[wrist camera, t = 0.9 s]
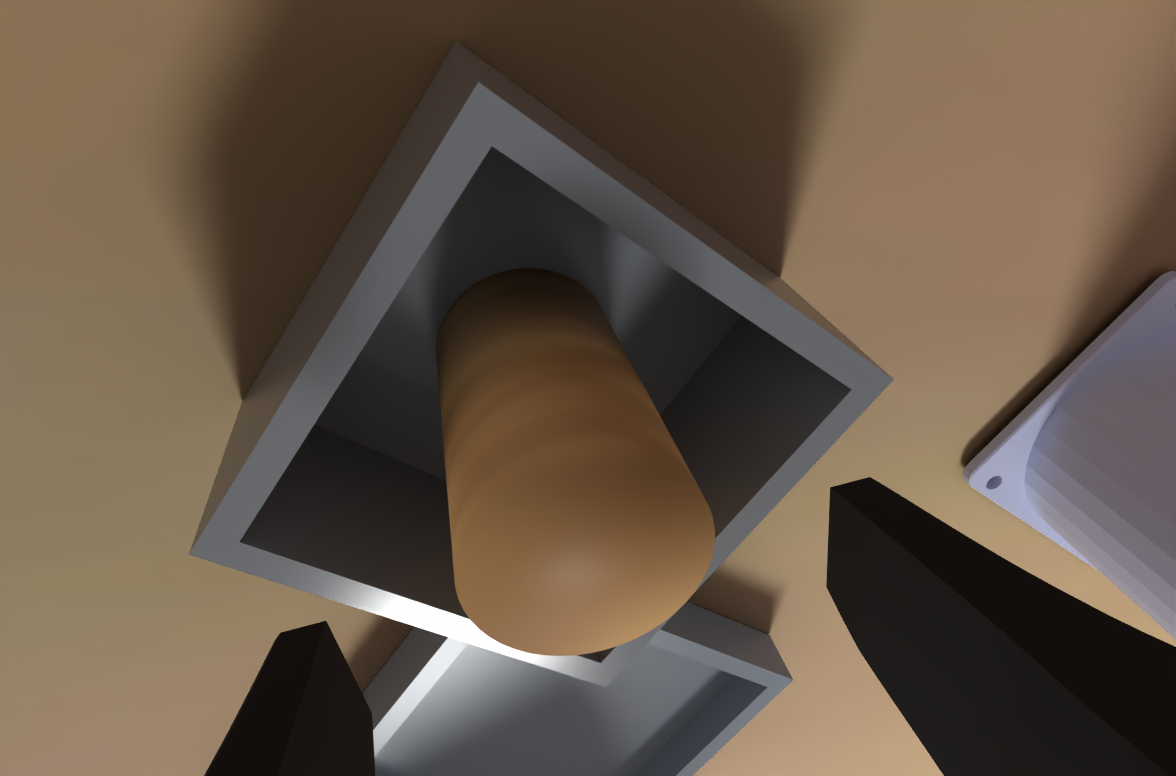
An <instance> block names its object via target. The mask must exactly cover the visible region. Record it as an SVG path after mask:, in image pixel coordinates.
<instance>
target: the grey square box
mask: <svg viewBox="0 0 1176 776" xmlns="http://www.w3.org/2000/svg"><path fill="white" fill-rule="evenodd" d="M518 268H538V269H546V270H550V271H555V272H557V273H560V274H563V275H566V276H567V277H569V278H571V279H573V280H575V281H577V282H578V283H579V284H581V285H582V286H584V287H585V288H586V289H587V290H588V291H589V292H590V293H591V294H592V295H593V296H594V298H595V299H596V300H597V301H598V303H599V305H600V306H601V308H602V310H603V312H604V314H605V315H606V317H607V319H608V321H609V323H610V325H611V326H612V328H613V330H614V332H615V334H616V336H617V337H618V339H619V341H620V343H621V345H622V347H623V349H624V350H625V352H626V354H627V356H628V358H629V360H630V361H631V363H632V365H633V367H634V369H635V371H636V373H637V374H638V376H639V378H640V380H641V382H642V384H643V385H644V387H645V389H646V391H647V393H648V395H649V397H650V398H651V400H652V402H653V404H654V406H655V408H656V409H657V411H658V413H659V415H660V417H661V419H662V421H663V422H664V424H665V426H666V428H667V430H668V432H669V433H670V435H671V437H672V439H673V441H674V443H675V444H676V446H677V448H678V450H679V452H680V454H681V456H682V457H683V459H684V461H685V463H686V465H687V467H688V468H689V470H690V472H691V474H692V476H693V478H694V480H695V481H696V483H697V485H698V487H699V489H700V491H701V492H702V494H703V496H704V498H705V500H706V502H707V504H708V505H709V508H710V511H711V514H712V516H713V521H714V527H715V545H714V551H713V556H712V559H711V562H710V565H709V568H708V570H707V572H706V574H705V576H704V578H703V580H702V582H701V583H700V585H699V586H698V588H699V587H700V586H701V585H702V584H703V583H704V582H705V581H706V580H707V579H708V578H709V576H710V575H711V574H712V573H713V572H714V571H715V570H716V569H717V568H718V567H719V566H720V565H721V564H722V563H723V561H724V560H725V559H726V558H727V557H728V556H729V555H730V554H731V553H732V552H733V551H734V550H735V549H736V548H737V547H738V545H739V544H740V543H741V542H742V541H743V540H744V539H745V538H746V537H747V536H748V535H749V534H750V533H751V532H752V530H753V529H754V528H755V527H756V526H757V525H758V524H759V523H760V522H761V521H762V520H763V519H764V518H765V517H766V515H767V514H768V513H769V512H770V511H771V510H772V509H773V508H774V507H775V506H776V505H777V504H778V503H779V502H780V501H781V499H782V498H783V497H784V496H785V495H786V494H787V493H788V492H789V491H790V490H791V489H792V488H793V487H794V486H795V484H796V483H797V482H798V481H799V480H800V479H801V478H802V477H803V476H804V475H805V474H806V473H807V472H808V471H809V469H810V468H811V467H812V466H813V465H814V464H815V463H816V462H817V461H818V460H819V459H820V458H821V457H822V456H823V455H824V453H825V452H826V451H827V450H828V449H829V448H830V447H831V446H832V445H833V444H834V443H835V442H836V441H837V440H838V438H839V437H840V436H841V435H842V434H843V433H844V432H845V431H846V430H847V429H848V428H849V427H850V426H851V425H852V423H853V422H854V421H855V420H856V419H857V418H858V417H859V416H860V415H861V414H862V413H863V412H864V411H865V410H866V409H867V407H868V406H869V405H870V404H871V403H872V402H873V401H874V400H875V399H876V398H877V397H878V396H879V395H880V394H881V392H882V391H883V390H884V389H885V388H886V387H887V386H888V385H889V384H890V383H891V382H892V381H893V380H894V379H893V378H892V377H891V376H890V375H888V374H887V373H886V372H885V371H884V370H883V369H882V368H881V367H879V366H878V365H877V364H876V363H875V362H874V361H873V360H872V359H871V358H869V357H868V356H867V355H866V354H865V353H864V352H863V351H862V350H860V349H859V348H858V347H857V346H856V345H855V344H854V343H853V342H851V341H850V340H849V339H848V338H847V337H846V336H845V335H844V334H843V333H841V332H840V331H839V330H838V329H837V328H836V327H835V326H834V325H832V324H831V323H830V322H829V321H828V320H827V319H826V318H825V317H823V316H822V315H821V314H820V313H819V312H818V311H817V310H816V309H815V308H813V307H812V306H811V305H810V304H809V303H808V302H807V301H806V300H804V299H803V298H802V297H801V296H800V295H799V294H798V293H797V292H795V291H794V290H793V289H792V288H791V287H790V286H789V285H788V284H786V283H785V282H784V281H783V280H782V279H781V278H779V277H778V276H777V275H775V274H774V273H773V272H771V271H770V270H769V269H767V268H766V267H764V266H763V265H762V264H760V263H759V262H758V261H756V260H755V259H754V258H752V257H751V256H749V255H748V254H747V253H745V252H744V251H743V250H741V249H740V248H739V247H737V246H736V245H734V244H733V243H732V242H730V241H729V240H728V239H726V238H725V237H724V236H722V235H721V234H719V233H718V232H717V231H715V230H714V229H713V228H711V227H710V226H709V225H707V224H706V223H704V222H703V221H702V220H700V219H699V218H698V217H696V216H695V215H694V214H692V213H691V212H689V211H688V210H687V209H685V208H684V207H683V206H681V205H680V204H679V203H677V202H676V201H674V200H673V199H672V198H670V197H669V196H668V195H666V194H665V193H664V192H662V191H661V190H659V189H658V188H657V187H655V186H654V185H653V184H651V183H650V182H649V181H647V180H646V179H644V178H643V177H642V176H640V175H639V174H638V173H636V172H635V171H634V170H632V169H631V168H629V167H628V166H627V165H625V164H624V163H623V162H621V161H620V160H619V159H617V158H616V157H614V156H613V155H612V154H610V153H609V152H608V151H606V150H605V149H604V148H602V147H601V146H599V145H598V144H597V143H595V142H594V141H593V140H591V139H590V138H589V137H587V136H586V135H584V134H583V133H582V132H580V131H579V130H578V129H576V128H575V127H574V126H572V125H571V124H569V123H568V122H567V121H565V120H564V119H563V118H561V117H560V116H558V115H557V114H556V113H554V112H553V111H552V110H550V109H549V108H548V107H546V106H545V105H543V104H542V103H541V102H539V101H538V100H537V99H535V98H534V97H533V96H531V95H530V94H528V93H527V92H526V91H524V90H523V89H522V88H520V87H519V86H518V85H516V84H515V83H513V82H512V81H511V80H509V79H508V78H507V77H505V76H504V75H503V74H501V73H500V72H498V71H497V70H496V69H494V68H493V67H492V66H490V65H489V64H488V63H486V62H485V61H483V60H482V59H481V58H479V57H478V56H477V55H475V54H474V53H473V52H471V51H470V50H468V49H467V48H466V47H464V46H463V45H462V44H460V43H459V42H458V41H455V43H454V44H453V46H452V48H451V50H450V51H449V53H448V55H447V56H446V58H445V60H444V61H443V63H442V65H441V66H440V68H439V70H438V72H437V73H436V75H435V77H434V78H433V80H432V82H431V83H430V85H429V87H428V88H427V90H426V92H425V94H424V95H423V97H422V99H421V100H420V102H419V104H418V105H417V107H416V109H415V111H414V112H413V114H412V116H411V117H410V119H409V121H408V122H407V124H406V126H405V127H404V129H403V131H402V133H401V134H400V136H399V138H398V139H397V141H396V143H395V144H394V146H393V148H392V149H391V151H390V153H389V155H388V156H387V158H386V160H385V161H384V163H383V165H382V166H381V168H380V170H379V171H378V173H377V175H376V177H375V178H374V180H373V182H372V183H371V185H370V187H369V188H368V190H367V192H366V193H365V195H364V197H363V199H362V200H361V202H360V204H359V205H358V207H357V209H356V210H355V212H354V214H353V215H352V217H351V219H350V221H349V222H348V224H347V226H346V227H345V229H344V231H343V232H342V234H341V236H340V237H339V239H338V241H337V243H336V244H335V246H334V248H333V249H332V251H331V253H330V254H329V256H328V258H327V259H326V261H325V263H324V265H323V266H322V268H321V270H320V271H319V273H318V275H317V276H316V278H315V280H314V282H313V283H312V285H311V287H310V288H309V290H308V292H307V293H306V295H305V297H304V298H303V300H302V302H301V304H300V305H299V307H298V309H297V310H296V312H295V314H294V315H293V317H292V319H291V320H290V322H289V324H288V326H287V327H286V329H285V331H284V332H283V334H282V336H281V337H280V339H279V341H278V342H277V344H276V346H275V348H274V349H273V351H272V353H271V354H270V356H269V358H268V359H267V361H266V363H265V364H264V366H263V368H262V370H261V371H260V373H259V375H258V376H257V378H256V380H255V381H254V383H253V385H252V386H251V388H250V390H249V392H248V393H247V395H246V397H245V398H244V400H243V402H242V404H241V407H240V409H239V412H238V415H237V418H236V421H235V424H234V427H233V430H232V432H231V435H230V438H229V441H228V444H227V447H226V450H225V452H224V455H223V458H222V461H221V464H220V467H219V470H218V473H217V475H216V478H215V481H214V484H213V487H212V490H211V493H210V496H209V498H208V501H207V504H206V507H205V510H204V513H203V516H202V518H201V521H200V524H199V527H198V530H197V533H196V536H195V539H194V541H193V544H192V547H191V550H190V553H189V555H192V556H195V557H198V558H201V559H204V560H207V561H211V562H214V563H217V564H220V565H223V566H226V567H229V568H233V569H236V570H239V571H242V572H245V573H248V574H252V575H255V576H258V577H261V578H264V579H267V580H270V581H274V582H277V583H280V584H283V585H286V586H289V587H292V588H296V589H299V590H302V591H305V592H308V593H311V594H314V595H318V596H321V597H324V598H327V599H330V600H333V601H336V602H340V603H343V604H346V605H349V606H352V607H355V608H358V609H362V610H365V611H368V612H371V613H374V614H377V615H380V616H384V617H387V618H390V619H393V620H396V621H399V622H402V623H406V624H409V625H412V626H415V627H418V628H421V629H424V630H428V631H431V632H434V633H437V634H440V635H443V636H446V637H450V638H453V639H456V640H459V641H462V642H465V643H469V644H472V645H475V646H478V647H481V648H484V649H487V650H491V651H494V652H497V653H500V654H503V655H506V656H509V657H513V658H516V659H519V660H522V661H525V662H528V663H531V664H535V665H538V666H541V667H544V668H547V669H550V670H553V671H557V672H560V673H563V674H566V675H569V676H572V677H575V678H579V679H582V680H585V681H588V682H591V683H594V684H597V685H601V686H604V687H607V686H608V685H609V683H610V682H611V681H612V680H613V679H614V678H615V677H616V676H617V675H618V674H619V673H620V672H621V671H622V670H623V668H624V667H625V666H626V665H627V664H628V663H629V662H630V661H631V660H632V659H633V658H634V657H635V656H636V655H637V653H638V652H639V651H640V650H641V649H642V648H643V647H644V646H645V645H646V644H647V643H648V642H649V641H650V640H651V639H652V637H653V636H654V635H655V634H656V633H657V632H658V631H659V630H660V629H661V628H662V627H663V626H664V625H665V624H666V622H667V621H668V620H669V619H670V618H671V617H672V616H673V615H674V614H675V613H674V614H673V615H672V616H671V617H669V618H668V619H667V620H666V621H664V622H663V623H662V624H660V625H659V626H657V627H655V628H654V629H652V630H651V631H649V632H647V633H645V634H643V635H642V636H640V637H638V638H636V639H634V640H631V641H629V642H626V643H624V644H622V645H619V646H616V647H612V648H609V649H606V650H602V651H598V652H593V653H588V654H581V655H571V656H548V655H539V654H532V653H527V652H523V651H519V650H516V649H513V648H510V647H508V646H505V645H503V644H501V643H499V642H497V641H495V640H494V639H492V638H490V637H489V636H487V635H486V634H485V633H483V632H482V631H481V630H479V629H478V627H477V626H476V625H475V624H474V623H473V622H472V621H471V620H470V619H469V617H468V616H467V614H466V613H465V612H464V610H463V608H462V606H461V604H460V601H459V599H458V596H457V592H456V588H455V580H454V568H453V555H452V543H451V531H450V518H449V506H448V494H447V481H446V469H445V457H444V445H443V432H442V420H441V408H440V395H439V383H438V371H437V358H436V345H437V337H438V333H439V329H440V326H441V324H442V321H443V319H444V317H445V315H446V314H447V312H448V310H449V309H450V307H451V306H452V305H453V303H454V302H455V301H456V300H457V299H458V298H459V297H460V296H461V295H462V294H463V293H464V292H465V291H466V290H467V289H469V288H470V287H471V286H473V285H474V284H476V283H477V282H479V281H481V280H482V279H484V278H486V277H489V276H491V275H493V274H496V273H499V272H503V271H506V270H512V269H518ZM698 588H697V589H698ZM697 589H696V590H697ZM694 593H695V592H694ZM694 593H693V594H694Z"/></svg>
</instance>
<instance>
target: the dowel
mask: <svg viewBox="0 0 1176 776" xmlns="http://www.w3.org/2000/svg"><path fill="white" fill-rule="evenodd" d="M436 358H437V371H438V383H439V395H440V408H441V420H442V432H443V445H444V457H445V469H446V481H447V494H448V506H449V518H450V531H451V543H452V555H453V568H454V580H455V588H456V592H457V596H458V599H459V601H460V604H461V606H462V608H463V610H464V612H465V613H466V614H467V616H468V617H469V619H470V620H471V621H472V622H473V623H474V624H475V625H476V626H477V627H478V629H479V630H481V631H482V632H483V633H485V634H486V635H487V636H489V637H490V638H492V639H494V640H495V641H497V642H499V643H501V644H503V645H505V646H508V647H510V648H513V649H516V650H519V651H523V652H527V653H532V654H539V655H548V656H571V655H581V654H588V653H593V652H598V651H602V650H606V649H609V648H612V647H616V646H619V645H622V644H624V643H626V642H629V641H631V640H634V639H636V638H638V637H640V636H642V635H643V634H645V633H647V632H649V631H651V630H652V629H654V628H655V627H657V626H659V625H660V624H662V623H663V622H664V621H666V620H667V619H668V618H669V617H671V616H672V615H673V614H674V613H676V612H677V611H678V610H679V609H680V608H681V607H682V606H683V605H684V604H685V603H686V602H687V601H688V599H689V598H690V597H691V596H692V595H693V593H694V592H695V591H696V589H697V588H698V586H699V585H700V583H701V582H702V580H703V578H704V576H705V574H706V572H707V570H708V568H709V565H710V562H711V559H712V556H713V551H714V545H715V527H714V521H713V516H712V514H711V511H710V508H709V505H708V504H707V502H706V500H705V498H704V496H703V494H702V492H701V491H700V489H699V487H698V485H697V483H696V481H695V480H694V478H693V476H692V474H691V472H690V470H689V468H688V467H687V465H686V463H685V461H684V459H683V457H682V456H681V454H680V452H679V450H678V448H677V446H676V444H675V443H674V441H673V439H672V437H671V435H670V433H669V432H668V430H667V428H666V426H665V424H664V422H663V421H662V419H661V417H660V415H659V413H658V411H657V409H656V408H655V406H654V404H653V402H652V400H651V398H650V397H649V395H648V393H647V391H646V389H645V387H644V385H643V384H642V382H641V380H640V378H639V376H638V374H637V373H636V371H635V369H634V367H633V365H632V363H631V361H630V360H629V358H628V356H627V354H626V352H625V350H624V349H623V347H622V345H621V343H620V341H619V339H618V337H617V336H616V334H615V332H614V330H613V328H612V326H611V325H610V323H609V321H608V319H607V317H606V315H605V314H604V312H603V310H602V308H601V306H600V305H599V303H598V301H597V300H596V299H595V298H594V296H593V295H592V294H591V293H590V292H589V291H588V290H587V289H586V288H585V287H584V286H582V285H581V284H579V283H578V282H577V281H575V280H573V279H571V278H569V277H567V276H566V275H563V274H560V273H557V272H555V271H550V270H546V269H538V268H518V269H512V270H506V271H503V272H499V273H496V274H493V275H491V276H489V277H486V278H484V279H482V280H481V281H479V282H477V283H476V284H474V285H473V286H471V287H470V288H469V289H467V290H466V291H465V292H464V293H463V294H462V295H461V296H460V297H459V298H458V299H457V300H456V301H455V302H454V303H453V305H452V306H451V307H450V309H449V310H448V312H447V314H446V315H445V317H444V319H443V321H442V324H441V326H440V329H439V333H438V337H437V345H436Z"/></svg>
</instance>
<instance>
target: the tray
mask: <svg viewBox="0 0 1176 776" xmlns="http://www.w3.org/2000/svg"><path fill="white" fill-rule="evenodd" d="M792 680H793V679H792V677H791V675H790V673H789V671H788V669H787V667H786V665H785V664H784V662H783V660H782V658H781V656H780V654H779V652H778V650H777V648H776V646H775V645H774V643H773V641H772V639H771V637H770V635H767V634H765V633H762V632H760V631H757V630H755V629H752V628H750V627H748V626H745V625H743V624H740V623H738V622H735V621H733V620H730V619H728V618H726V617H723V616H721V615H718V614H716V613H713V612H711V611H709V610H706V609H704V608H701V607H699V606H696V605H694V604H691V603H689V602H686V603H685V604H684V605H683V606H682V607H681V608H680V609H679V610H678V611H677V612H676V613H675V614H674V615H673V616H672V617H671V618H670V619H669V620H668V621H667V622H666V624H665V625H664V626H663V627H662V628H661V629H660V630H659V631H658V632H657V633H656V634H655V635H654V636H653V637H652V639H651V640H650V641H649V642H648V643H647V644H646V645H645V646H644V647H643V648H642V649H641V650H640V651H639V652H638V653H637V655H636V656H635V657H634V658H633V659H632V660H631V661H630V662H629V663H628V664H627V665H626V666H625V667H624V668H623V670H622V671H621V672H620V673H619V674H618V675H617V676H616V677H615V678H614V679H613V680H612V681H611V682H610V683H609V685H608V686H607V687H604V686H601V685H597V684H594V683H591V682H588V681H585V680H582V679H579V678H575V677H572V676H569V675H566V674H563V673H560V672H557V671H553V670H550V669H547V668H544V667H541V666H538V665H535V664H531V663H528V662H525V661H522V660H519V659H516V658H513V657H509V656H506V655H503V654H500V653H497V652H494V651H491V650H487V649H484V648H481V647H478V646H475V645H472V644H469V643H465V642H462V641H459V640H456V639H453V638H450V637H446V636H443V635H440V634H437V633H434V632H431V631H428V630H424V629H421V628H418V627H414V628H413V629H412V630H411V632H410V633H409V634H408V636H407V637H406V638H405V639H404V641H403V642H402V643H401V645H400V646H399V647H398V648H397V650H396V651H395V652H394V653H393V655H392V656H391V657H390V659H389V660H388V661H387V662H386V664H385V665H384V666H383V668H382V669H381V670H380V671H379V673H378V674H377V675H376V677H375V678H374V679H373V680H372V682H371V683H370V684H369V686H368V687H367V688H366V689H365V691H364V692H363V693H362V694H363V696H364V698H365V700H366V702H367V704H368V706H369V708H370V710H371V712H372V721H373V738H374V757H375V776H693V775H694V774H695V773H696V772H697V771H698V770H699V769H700V768H701V767H702V766H703V765H704V764H705V763H706V762H707V761H708V760H709V759H710V758H712V757H713V756H714V755H715V754H716V753H717V752H718V751H719V750H720V749H721V748H722V747H723V746H724V745H725V744H726V743H727V742H728V741H729V740H730V739H731V738H733V737H734V736H735V735H736V734H737V733H738V732H739V731H740V730H741V729H742V728H743V727H744V726H745V725H746V724H747V723H748V722H749V721H750V720H751V719H752V718H754V717H755V716H756V715H757V714H758V713H759V712H760V711H761V710H762V709H763V708H764V707H765V706H766V705H767V704H768V703H769V702H770V701H771V700H772V699H774V698H775V697H776V696H777V695H778V694H779V693H780V692H781V691H782V690H783V689H784V688H785V687H786V686H787V685H788V684H789V683H790V682H791V681H792Z"/></svg>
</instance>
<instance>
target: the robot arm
mask: <svg viewBox="0 0 1176 776" xmlns="http://www.w3.org/2000/svg"><path fill="white" fill-rule="evenodd" d="M963 479H964V480H965V481H966V482H967V483H968V484H969V485H970V486H971V487H972V488H974V489H975V490H977V491H978V492H980V493H981V494H983V495H984V496H986V497H987V498H989V499H990V500H992V501H993V502H995V503H997V504H998V505H1000V506H1001V507H1003V508H1004V509H1006V510H1007V511H1009V512H1010V513H1012V514H1013V515H1015V516H1016V517H1018V518H1019V519H1021V520H1022V521H1024V522H1025V523H1027V524H1028V525H1030V526H1031V527H1033V528H1034V529H1036V530H1037V531H1039V532H1041V533H1042V534H1044V535H1045V536H1047V537H1048V538H1050V539H1051V540H1053V541H1054V542H1056V543H1057V544H1059V545H1060V546H1062V547H1063V548H1065V549H1066V550H1068V551H1069V552H1071V553H1072V554H1074V555H1075V556H1077V557H1078V558H1080V559H1081V560H1083V561H1085V562H1086V563H1088V564H1089V565H1091V566H1092V567H1094V568H1095V569H1097V570H1098V571H1100V572H1101V573H1102V574H1103V575H1104V576H1105V577H1107V578H1108V579H1109V580H1110V581H1111V582H1112V583H1113V584H1114V585H1115V586H1117V587H1118V588H1119V589H1120V590H1121V591H1122V592H1123V593H1124V594H1125V595H1126V596H1128V597H1129V598H1130V599H1131V600H1132V601H1133V602H1134V603H1135V604H1136V605H1138V606H1139V607H1140V608H1141V609H1142V610H1143V611H1144V612H1145V613H1146V614H1147V615H1149V616H1150V617H1151V618H1152V619H1153V620H1154V621H1155V622H1156V623H1157V624H1159V625H1160V626H1161V627H1162V628H1163V629H1164V630H1165V631H1166V632H1167V633H1169V634H1170V635H1171V636H1172V637H1173V638H1174V639H1175V640H1176V271H1170V272H1167V273H1165V274H1163V275H1161V276H1160V277H1159V278H1157V279H1156V280H1155V281H1154V282H1153V283H1152V284H1151V285H1150V286H1149V287H1148V288H1147V289H1146V290H1145V291H1144V292H1143V293H1142V294H1141V295H1140V296H1139V297H1138V298H1137V299H1136V300H1135V301H1134V302H1133V303H1132V304H1131V305H1130V306H1129V307H1128V308H1127V309H1126V310H1125V311H1124V312H1122V313H1121V314H1120V315H1119V316H1118V317H1117V318H1116V319H1115V320H1114V321H1113V322H1112V323H1111V324H1110V325H1109V326H1108V327H1107V328H1106V329H1105V330H1104V331H1103V332H1102V333H1101V334H1100V335H1099V336H1098V337H1097V338H1096V339H1095V340H1094V341H1093V342H1092V343H1091V344H1090V345H1089V346H1088V347H1087V348H1086V349H1085V350H1084V351H1083V352H1082V353H1081V354H1080V355H1079V356H1078V357H1077V358H1076V359H1074V360H1073V361H1072V362H1071V363H1070V364H1069V365H1068V366H1067V367H1066V368H1065V369H1064V370H1063V371H1062V372H1061V373H1060V374H1059V375H1058V376H1057V377H1056V378H1055V379H1054V380H1053V381H1052V382H1051V383H1050V384H1049V385H1048V386H1047V387H1046V388H1045V389H1044V390H1043V391H1042V392H1041V393H1040V394H1039V395H1038V396H1037V397H1036V398H1035V399H1034V400H1033V401H1032V402H1031V403H1030V404H1029V405H1028V406H1026V407H1025V408H1024V409H1023V410H1022V411H1021V412H1020V413H1019V414H1018V415H1017V416H1016V417H1015V418H1014V419H1013V420H1012V421H1011V422H1010V423H1009V424H1008V425H1007V426H1006V427H1005V428H1004V429H1003V430H1002V431H1001V432H1000V433H999V434H998V435H997V436H996V437H995V438H994V439H993V440H992V441H991V442H990V443H989V444H988V445H987V446H986V447H985V448H984V449H983V450H982V451H981V452H979V453H978V454H977V455H976V456H975V457H974V458H973V459H972V460H971V461H970V462H969V463H968V465H967V466H966V467H965V469H964V472H963ZM827 589H828V591H829V593H830V595H831V597H832V599H833V601H834V603H835V605H836V607H837V609H838V611H839V613H840V615H841V617H842V619H843V621H844V623H845V624H846V626H847V628H848V630H849V632H850V634H851V636H852V638H853V639H854V641H855V643H856V645H857V647H858V649H859V651H860V652H861V654H862V655H863V657H864V658H865V660H866V661H867V663H868V664H869V666H870V667H871V669H872V670H873V672H874V673H875V675H876V676H877V678H878V679H879V681H880V682H881V684H882V685H883V687H884V688H885V690H886V691H887V693H888V694H889V696H890V697H891V699H892V700H893V701H894V703H895V704H896V706H897V707H898V709H899V710H900V712H901V713H902V715H903V716H904V718H905V719H906V721H907V722H908V723H909V725H910V726H911V728H912V729H913V731H914V732H915V734H916V735H917V737H918V738H919V740H920V741H921V743H922V744H923V745H924V747H925V748H926V750H927V751H928V753H929V754H930V756H931V757H932V759H933V760H934V762H935V763H936V765H937V766H938V767H939V769H940V770H941V772H942V773H943V775H944V776H1176V647H1175V646H1172V645H1170V644H1168V643H1166V642H1164V641H1161V640H1159V639H1157V638H1155V637H1153V636H1151V635H1148V634H1146V633H1144V632H1142V631H1140V630H1138V629H1136V628H1134V627H1132V626H1129V625H1127V624H1125V623H1123V622H1121V621H1119V620H1117V619H1115V618H1113V617H1111V616H1109V615H1107V614H1105V613H1103V612H1101V611H1099V610H1098V609H1096V608H1094V607H1092V606H1090V605H1088V604H1086V603H1084V602H1082V601H1080V600H1078V599H1077V598H1075V597H1073V596H1071V595H1069V594H1067V593H1065V592H1063V591H1061V590H1059V589H1057V588H1056V587H1054V586H1052V585H1050V584H1048V583H1047V582H1045V581H1043V580H1041V579H1039V578H1037V577H1036V576H1034V575H1032V574H1030V573H1028V572H1027V571H1025V570H1023V569H1021V568H1020V567H1018V566H1016V565H1014V564H1013V563H1011V562H1009V561H1007V560H1006V559H1004V558H1002V557H1001V556H999V555H997V554H995V553H994V552H992V551H990V550H989V549H987V548H985V547H984V546H982V545H980V544H979V543H977V542H975V541H974V540H972V539H970V538H969V537H967V536H965V535H963V534H962V533H960V532H959V531H957V530H955V529H954V528H952V527H950V526H949V525H947V524H946V523H944V522H942V521H941V520H939V519H937V518H936V517H934V516H933V515H931V514H929V513H928V512H926V511H924V510H923V509H921V508H920V507H918V506H916V505H915V504H913V503H912V502H910V501H908V500H907V499H905V498H904V497H902V496H900V495H899V494H897V493H895V492H894V491H892V490H891V489H889V488H887V487H886V486H884V485H882V484H881V483H879V482H877V481H876V480H874V479H872V478H871V477H868V478H865V479H861V480H857V481H853V482H849V483H846V484H842V485H838V486H834V487H830V509H829V535H828V561H827ZM204 776H375V757H374V738H373V721H372V712H371V710H370V708H369V706H368V704H367V702H366V700H365V698H364V696H363V694H362V692H361V690H360V688H359V686H358V684H357V682H356V680H355V678H354V676H353V674H352V672H351V670H350V668H349V666H348V664H347V662H346V660H345V658H344V656H343V654H342V652H341V650H340V648H339V646H338V644H337V642H336V640H335V638H334V636H333V634H332V632H331V630H330V628H329V625H328V623H327V621H323V622H320V623H316V624H312V625H308V626H304V627H301V628H297V629H293V630H289V631H285V632H282V633H280V634H279V636H278V637H277V638H276V640H275V641H274V643H273V645H272V647H271V649H270V651H269V653H268V655H267V657H266V659H265V661H264V663H263V665H262V667H261V669H260V671H259V673H258V675H257V677H256V679H255V681H254V683H253V685H252V687H251V689H250V691H249V693H248V695H247V696H246V698H245V700H244V702H243V704H242V706H241V708H240V710H239V712H238V714H237V716H236V718H235V720H234V721H233V723H232V725H231V727H230V729H229V731H228V733H227V735H226V737H225V739H224V741H223V742H222V744H221V746H220V748H219V750H218V751H217V753H216V755H215V757H214V759H213V760H212V762H211V764H210V766H209V768H208V770H207V771H206V773H205V775H204Z"/></svg>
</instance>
